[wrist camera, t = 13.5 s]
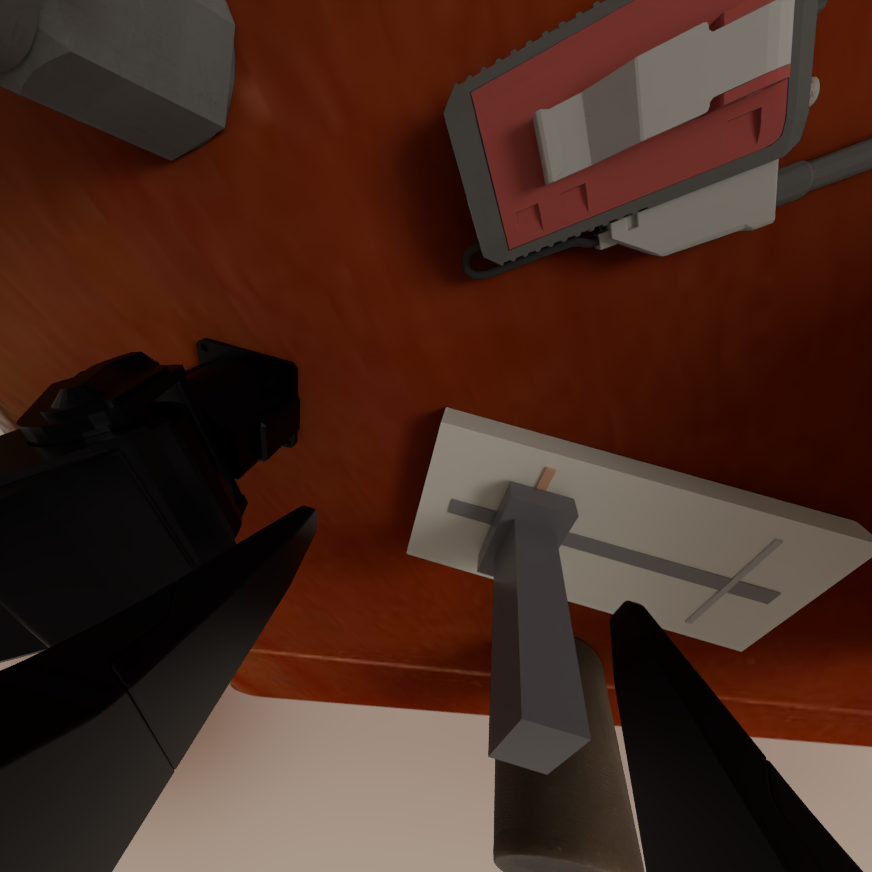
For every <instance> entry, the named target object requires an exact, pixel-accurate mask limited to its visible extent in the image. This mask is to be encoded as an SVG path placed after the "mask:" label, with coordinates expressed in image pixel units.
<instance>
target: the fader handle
mask: <svg viewBox="0 0 872 872" xmlns="http://www.w3.org/2000/svg"><path fill="white" fill-rule="evenodd" d="M578 517H579V515H578V511H577V507H576V504H575V500H574V499H573V498H569V497H566V496H562V495H559V494H555V493H551V492H548V491H544V490H541V489H537V488H534V487H530V486H527V485H523V484H520V483H516V482H513V481H510V483H509V485H508V488H507V490H506V492H505V495H504V497H503V499H502V501H501V504H500V506H499V508H498V511H497V513H496V515H495V517H494V520H493V522H492V524H491V527H490V529H489V531H488V533H487V536H486V538H485V540H484V543H483V545H482V547H481V550H480V552H479V554H478V565H477V572H479V573H483V574H486V575H489V576H493V577H494V588H493V621H492V653H491V686H490V718H489V751H488V756H489V757H491V758H495V759H497V760H501V761H504V762H507V763H510V764H514V765H517V766H520V767H523V768H527V769H530V770H533V771H537V772H540V773H543V774H546V775H547V774H549V773H550V772H551V771H552V770H554V769H555V768H556V767H558V766H559V765H560V764H561V763H563V762H564V761H565V760H566V759H568V758H569V757H570V756H571V755H573V754H574V753H575V752H576V751H578V750H579V749H580V748H581V747H583V746H584V745H585V744H586V743H588V742H589V741H590V740H591V737H590V731H589V725H588V719H587V713H586V707H585V701H584V695H583V689H582V684H581V678H580V672H579V666H578V660H577V654H576V648H575V642H574V636H573V630H572V625H571V619H570V613H569V607H568V601H567V595H566V589H565V583H564V577H563V571H562V566H561V560H560V554H559V547H560V546H561V544H562V543H563V541H564V539H565V538H566V536H567V534H568V533H569V531H570V530H571V528H572V526H573V525H574V523H575V522H576V520H577V518H578Z"/></svg>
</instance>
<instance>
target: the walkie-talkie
mask: <svg viewBox="0 0 872 872" xmlns="http://www.w3.org/2000/svg"><path fill="white" fill-rule="evenodd" d="M827 1H828V0H605V1H604V2H602V3H600V2H599V1H597V2H595V3H594V4H593V6H592V8H591V9H590V10H588V11H586V12H585V13H582V12H581V11H580V12H578V13H577V14H576V15H575V18H574V19H572V20H571V21H569V22H567V23H565V22H564V21H563V22H561V23H559V26H558V28H557V29H555V30H553V31H552V32H550V33H549V32H548V31H545V32H544V33H542V37H541V38H539V39H538V40H536V41H534V42H532V41H531V40H530V41H528V42H527V43H526V47H524V48H522V49H520V50H519V51H516V49H514V50H513V51H511V55H510V56H508V57H506V58H505V59H503V60H501V59H500V58H499V59H497V60H496V64H494V65H493V66H491V67H489V68H486V67H483V68H482V69H481V72H480V73H479V74H477V75H475V76H474V77H472V76H471V75H470V76H468V77H467V80H466V81H465V82H463V83H461V84H460V85H458V84H457V83H455V86H454V88H453V90H452V93H451V95H450V98H449V100H448V103H447V105H446V108H445V110H444V112H443V113H444V117H445V121H446V125H447V129H448V132H449V136H450V139H451V143H452V147H453V150H454V154H455V157H456V161H457V165H458V168H459V172H460V175H461V179H462V183H463V186H464V190H465V193H466V197H467V201H468V204H469V208H470V211H471V215H472V219H473V222H474V226H475V230H476V233H477V237H478V240H479V241H478V242H476V243H474V244H472V245H471V246H470V247H469V248H468V249H467V250H466V251H465V253H464V255H463V257H462V263H463V271H464V272H465V274H466V275H467V276H468V277H469V278H471V279H475V280H480V279H487V278H490V277H493V276H495V275H498V274H500V273H503V272H506V271H508V270H511V269H514V268H516V267H519V266H521V265H524V264H527V263H529V262H532V261H534V260H537V259H540V258H542V257H545V256H548V255H550V254H553V253H556V252H559V251H562V250H565V249H568V248H571V247H582V248H590V247H595V249H599V250H602V249H605V248H608V247H611V246H613V245H616V244H620V245H623V246H626V247H629V248H632V249H635V250H638V251H641V252H644V253H647V254H650V255H656V256H661V257H663V256H666V255H669V254H672V253H675V252H678V251H681V250H684V249H687V248H690V247H693V246H696V245H699V244H702V243H705V242H708V241H711V240H714V239H716V238H719V237H722V236H725V235H728V234H731V233H734V232H737V231H752V230H754V229H757V228H760V227H763V226H766V225H768V224H771V223H773V221H774V220H775V208H776V207H777V206H780V205H783V204H786V203H788V202H791V201H794V200H797V199H799V198H801V197H803V196H804V195H805V194H806V192H809V191H812V190H814V189H817V188H820V187H823V186H826V185H828V184H831V183H834V182H837V181H840V180H842V179H845V178H848V177H851V176H854V175H856V174H859V173H862V172H865V171H868V170H871V169H872V138H870V139H867V140H865V141H862V142H859V143H857V144H854V145H851V146H849V147H846V148H843V149H841V150H838V151H835V152H833V153H830V154H827V155H825V156H822V157H819V158H817V159H814V160H811V161H809V162H806V161H804V160H802V161H799V162H796V163H793V164H791V165H788V166H786V167H783V168H780V169H778V159H779V158H782V157H784V156H785V155H786V154H787V153H788V152H789V151H790V150H791V149H792V148H793V147H794V146H795V145H796V144H797V143H798V142H799V141H800V138H801V135H802V132H803V129H804V126H805V123H806V120H807V116H808V112H809V107H810V106H811V105H812V104H813V103H814V102H815V100H816V99H817V97H818V93H819V87H820V84H819V80H818V78H817V77H812V66H813V54H814V43H815V31H816V20H817V16H818V14H819V13H820V12H821V11H822V9H823V8H824V6H825V5H826V3H827ZM811 77H812V78H811ZM597 226H599V228H600V232H597V233H595V234H593V236H594V237H591V238H581V237H578V236H580V234H581V232H590V231H593V230H594V228H595V227H597ZM571 236H572V237H573V238H569V237H571ZM567 238H569V239H567ZM479 250H481V251H482V254H483V257H484V258H487V259H489V260H491V261H493V262H495V263H497V264H499V265H497V266H494V267H492V268H489V269H486V270H482V271H479V270H474V269H473V268H472V267H471V256H472V255H473V254H474V253H476V252H477V251H479ZM509 260H510V261H509Z"/></svg>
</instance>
